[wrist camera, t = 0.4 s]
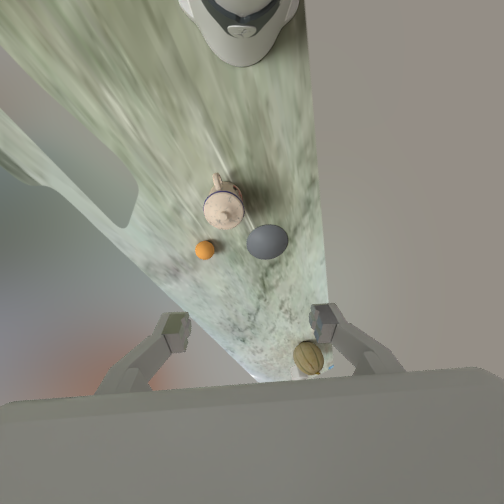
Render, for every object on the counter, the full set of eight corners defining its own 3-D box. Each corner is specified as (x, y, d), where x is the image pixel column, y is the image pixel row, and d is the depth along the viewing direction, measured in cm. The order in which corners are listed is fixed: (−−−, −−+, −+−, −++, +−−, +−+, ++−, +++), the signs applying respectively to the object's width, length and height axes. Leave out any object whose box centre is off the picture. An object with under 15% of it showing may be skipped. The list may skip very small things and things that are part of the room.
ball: (195, 237, 53) (191, 248, 49) (214, 237, 53) (212, 247, 49) (198, 252, 56) (195, 263, 52) (216, 252, 56) (214, 263, 52)
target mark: (246, 225, 52) (246, 225, 51) (290, 223, 52) (290, 224, 52) (246, 259, 59) (246, 260, 59) (285, 258, 60) (285, 258, 60)
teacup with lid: (246, 210, 49) (248, 231, 40) (214, 217, 49) (209, 239, 40) (235, 163, 42) (235, 175, 32) (198, 172, 42) (188, 186, 33)
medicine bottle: (289, 368, 115) (294, 390, 106) (296, 363, 112) (301, 386, 102) (298, 369, 118) (303, 391, 108) (304, 364, 114) (311, 387, 104)
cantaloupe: (288, 340, 94) (295, 372, 82) (316, 334, 92) (328, 366, 80) (293, 352, 102) (300, 383, 90) (318, 346, 100) (329, 377, 88)
